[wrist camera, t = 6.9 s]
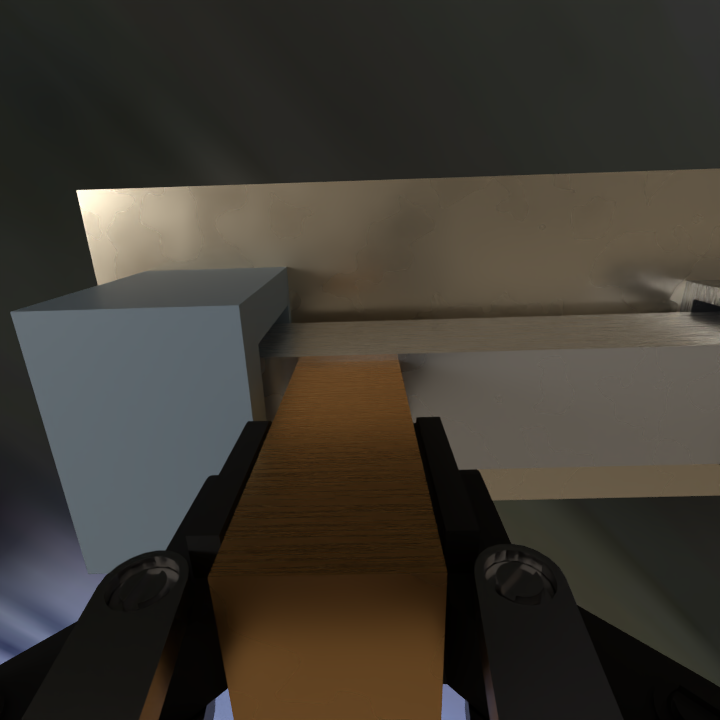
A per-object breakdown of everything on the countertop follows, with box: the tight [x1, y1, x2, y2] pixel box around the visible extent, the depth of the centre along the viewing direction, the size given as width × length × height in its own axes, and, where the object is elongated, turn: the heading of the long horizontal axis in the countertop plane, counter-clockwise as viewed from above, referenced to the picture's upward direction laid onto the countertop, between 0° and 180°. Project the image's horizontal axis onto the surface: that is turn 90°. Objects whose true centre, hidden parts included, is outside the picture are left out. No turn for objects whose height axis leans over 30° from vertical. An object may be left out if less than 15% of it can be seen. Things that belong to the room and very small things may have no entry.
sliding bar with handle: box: [208, 311, 720, 720], centre depth 12 cm, size 23×4×12 cm, turn 92°
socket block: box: [11, 267, 291, 574], centre depth 15 cm, size 6×8×7 cm
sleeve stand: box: [76, 169, 720, 500], centre depth 16 cm, size 41×14×7 cm, turn 92°
